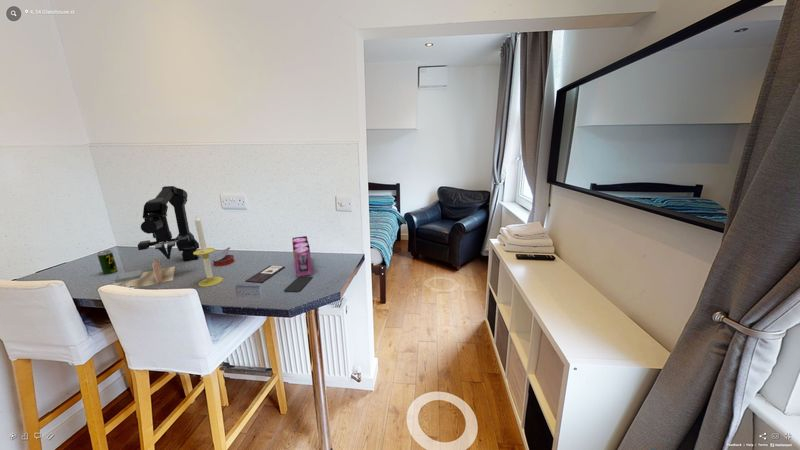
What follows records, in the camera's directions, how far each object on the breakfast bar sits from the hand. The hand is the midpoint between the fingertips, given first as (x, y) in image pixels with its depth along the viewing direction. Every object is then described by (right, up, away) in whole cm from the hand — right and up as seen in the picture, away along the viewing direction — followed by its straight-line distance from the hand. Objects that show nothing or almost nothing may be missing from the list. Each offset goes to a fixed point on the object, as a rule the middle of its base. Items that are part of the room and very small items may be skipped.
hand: (168, 258), depth 138 cm
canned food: (+15, -5, +19) cm, 25 cm away
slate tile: (-17, -8, +4) cm, 19 cm away
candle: (+23, -11, -4) cm, 25 cm away
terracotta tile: (-4, -10, 0) cm, 10 cm away
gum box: (+62, -6, +10) cm, 63 cm away
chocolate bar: (+46, -9, +3) cm, 47 cm away
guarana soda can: (-37, -9, +9) cm, 39 cm away
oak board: (-12, -10, +1) cm, 16 cm away
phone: (+66, -11, -8) cm, 67 cm away
